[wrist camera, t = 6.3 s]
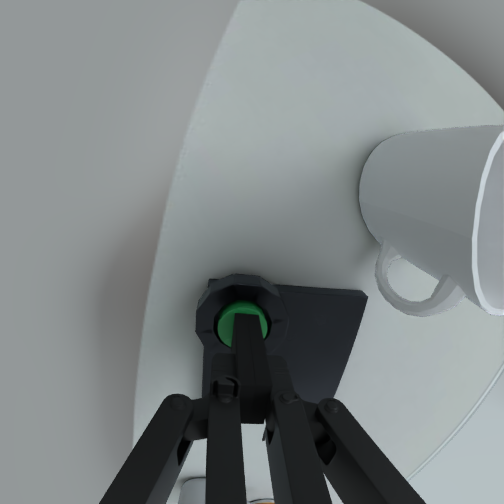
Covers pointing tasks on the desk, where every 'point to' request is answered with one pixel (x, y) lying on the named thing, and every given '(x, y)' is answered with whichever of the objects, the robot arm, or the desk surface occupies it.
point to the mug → (440, 214)
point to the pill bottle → (263, 502)
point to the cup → (194, 492)
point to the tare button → (228, 316)
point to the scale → (289, 329)
